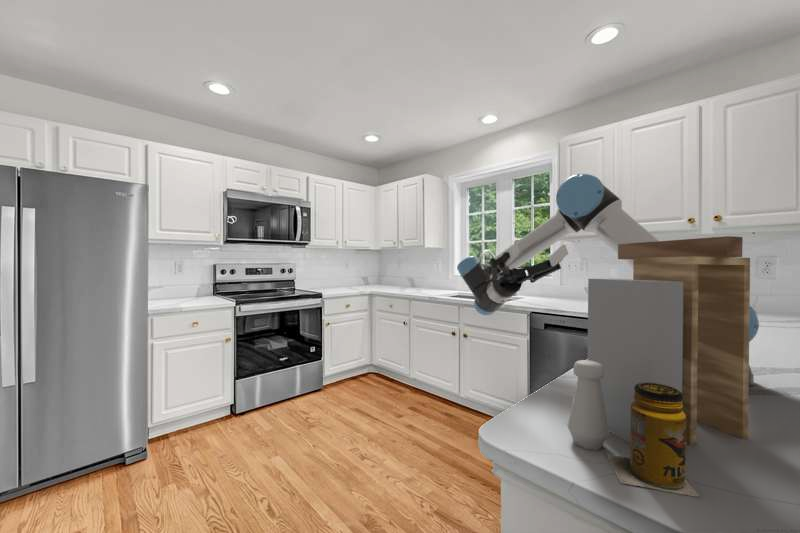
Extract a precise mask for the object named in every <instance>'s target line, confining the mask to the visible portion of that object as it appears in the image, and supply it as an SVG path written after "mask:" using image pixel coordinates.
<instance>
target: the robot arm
mask: <svg viewBox="0 0 800 533" xmlns="http://www.w3.org/2000/svg"><path fill="white" fill-rule="evenodd" d="M555 202H556V206H557V210H556V213H555V214H554V215H552V216H551V217H550V218H548V219H547V220H545V221H544V222H542V223H541V224H540V225H538V226H537V227H536V228H533V230H531V231H530V232H528V233H527V234H526V235H524V236H523V237H521V238H520V239H519V240H517V241H516V242H513V244H511V245H510V246H508V247H507V248H505V250H503V251H502V252H500V253H499V254H497V255H496V256H494V257H492V258H490V260H488V262H486V263H481V262H480V260H479V259H478V258H477V257H476V256H474V255H470V256H467V257H465V258H464V259H462V260H461V261H460V262H459V263H458V264H457V266H456V268H457V271H458V273H459V275H460V277H461V278H462V279H463V281H464V283H465V284H466V285H467V287H468V288H469V290H470V291H471V293H472V295H473V297H474V298H475V299H474V302H473V306H474V309H475V310H476V312H477V313H479V314H480V315H482V316H491V315H492V314H494V313H495V312H497V311H498V310H499V309H500V308H501V307H502V306H504V304H505V303H506V302H508V300H509V299H510V298H512V297H514V295H516V294H517V293H518V291H520V290H521V287H522V284H523V283H525V282H526V281H529V282H530V283H535V282H537V281H538V280H539V279H542V278H544V277H546V276H549V275H551V274H552V273H555V272H557V271H558V270H561V269H562V267H561V264H560V263H561V262H562V261H563V260H564V258H566V256H568V255H569V251H568V249H567V245H566V244H561V246H559V247H558V248H557V249H556V250H555V251H554V252H553V253H552V254H551V255H550V256H548V259H547V260H544V261H542V262H539V263H536V264H533V265H531V266H528V265H526V266H523V265H524V264H526V263H527V262H529V261H531V259H533V258H535V257H536V256H538V255H540V254H541V253H543V252H544V251H545V250H547V249H548V248H550V247H551V246H553V245H555V244H556V243H558V242H559V241H561V240H562V239H564V238H565V237H566V236H568V235H569V234H571V233H575V234H577V233H579V232H580V231H583V232H585V233H594V234H596V235H597V236H598V238H600V239H601V240H602V241H603V242H604V243H606V245H608V247H610V249H612V250H613V251H614V252H615V253H616V254H617V255H618V244H629V243H643V242H656V241H660V240H659V239H657V238H656V237H655V236H654V235H653V234H652V233H651V232H650V231H648V230H647V229H646V228H645V227H643V226H642V225H641V224H640V223H639V222H637V220H635V219H634V218H633V217H631V215H629V213H627V212H626V211H625V210H624V209H623V207H622V205H623V200H622V199H620V198H619V197H618V196H617V195H616V194H615V193H614V192H612V191H611V190H610V189H609V188H608V187H606V186H605V185H604V184H603V182H602V181H601V180H600V178H598V177H597V176H595V175H593V174H588V173H578V174H573V175H572V176H569V177H568V178H566V179H565V180H563V182H562V183H561V184H560V185H559V187H558V189H557V191H556V195H555ZM633 260H634V259H623V261H625V262H626V263H627V264H628V265H629V266H630V267H632V268H633ZM521 266H523V267H521ZM526 272H527V273H526ZM759 325H760V323H759V317H758V314H757V312H756V311H755V309H754V308H753V307H752V306H751V305H750V315H749V343H750V342H751V341H752V340H754V338H755V337H756V335H757V334H758V332H759V329H760V328H759V327H760V326H759ZM754 377H755V376H754V373H753V372H752V369H751V366H750V364H749V387H752V386H754V385H755V382H754V381H755V380H754Z"/></svg>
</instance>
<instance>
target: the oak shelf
mask: <svg viewBox="0 0 800 533" xmlns="http://www.w3.org/2000/svg"><path fill="white" fill-rule="evenodd" d="M632 273H633V274H632V275H633V277H632V280H655V281H678V282H683V352H682V396H683V398H682V404H683V408H682V411H683V412H684V413H685V415H686V444H688V445H689V446H692V445H697V430H698V428H697V422H698V421H699V422H701V423H703V424H705V425H708V426H711V427H713V428H716V429H718V430H720V431H723V432H725V433H728V434H730V435H733V436H734V437H737V438H740V439H742V440H743V439H749V398H750V397H749V396H750V394H749V393H750V392H749V390H750V388H749V387H750V386H749V365H750V342H749V315H750V306H751V301H750V300H751V298H750V297H751V296H750V294H751V289H750V288H751V258H750V257H695V256H690V257H652V258H634V260H633V269H632Z"/></svg>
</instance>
